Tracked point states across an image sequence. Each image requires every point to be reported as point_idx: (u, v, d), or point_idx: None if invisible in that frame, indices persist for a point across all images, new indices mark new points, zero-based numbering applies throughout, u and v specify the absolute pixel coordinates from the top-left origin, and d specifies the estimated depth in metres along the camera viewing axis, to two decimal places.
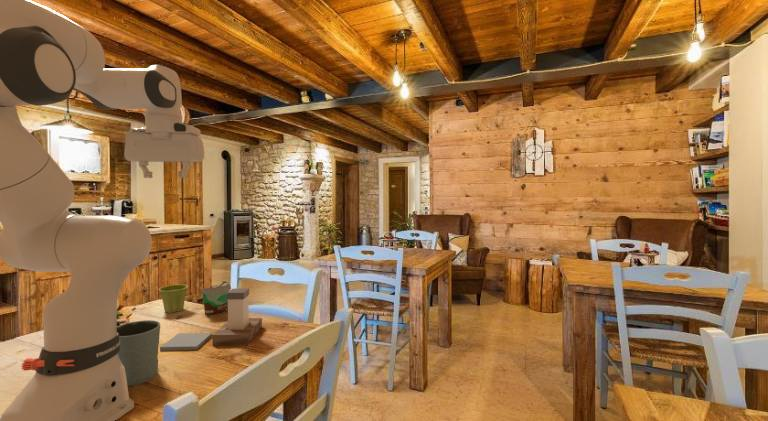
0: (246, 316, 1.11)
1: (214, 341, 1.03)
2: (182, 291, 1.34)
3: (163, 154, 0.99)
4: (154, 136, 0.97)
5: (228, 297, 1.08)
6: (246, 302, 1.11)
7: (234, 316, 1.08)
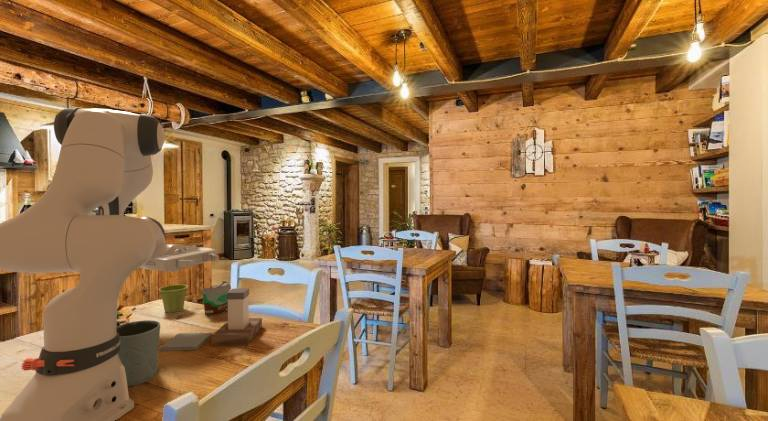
0: (246, 316, 1.11)
1: (214, 341, 1.03)
2: (182, 291, 1.34)
3: (192, 253, 1.16)
4: (175, 249, 1.16)
5: (228, 297, 1.08)
6: (246, 302, 1.11)
7: (234, 316, 1.08)
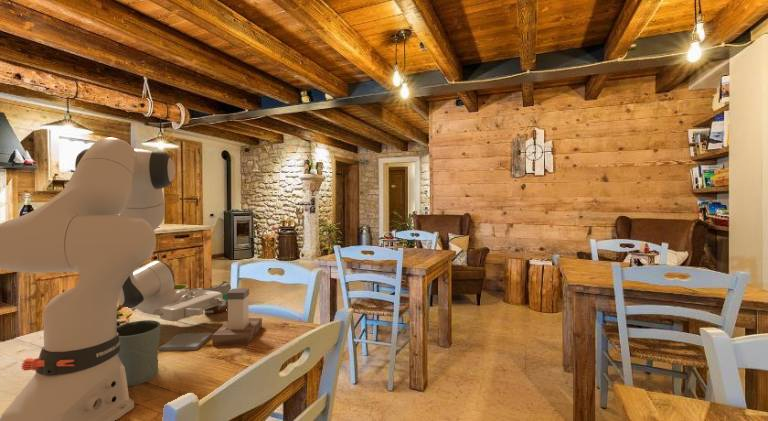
0: (246, 316, 1.11)
1: (214, 341, 1.03)
2: None
3: (199, 299, 1.15)
4: (182, 296, 1.15)
5: (228, 297, 1.08)
6: (246, 302, 1.11)
7: (234, 316, 1.08)
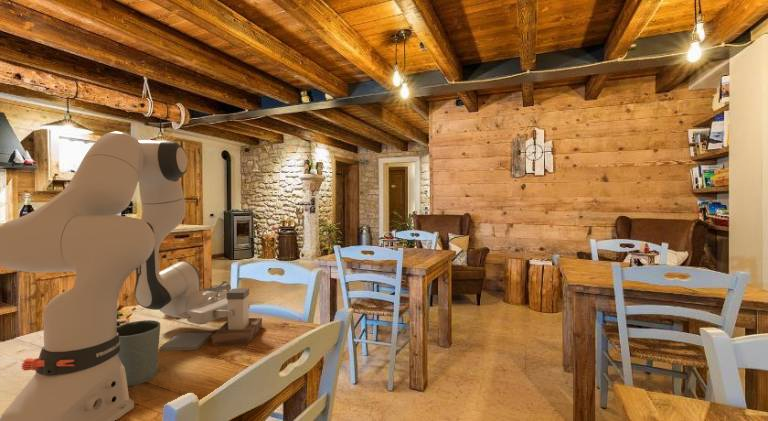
0: (246, 316, 1.11)
1: (214, 341, 1.03)
2: None
3: (225, 301, 1.13)
4: (208, 298, 1.12)
5: (228, 297, 1.08)
6: (246, 302, 1.11)
7: (234, 316, 1.08)
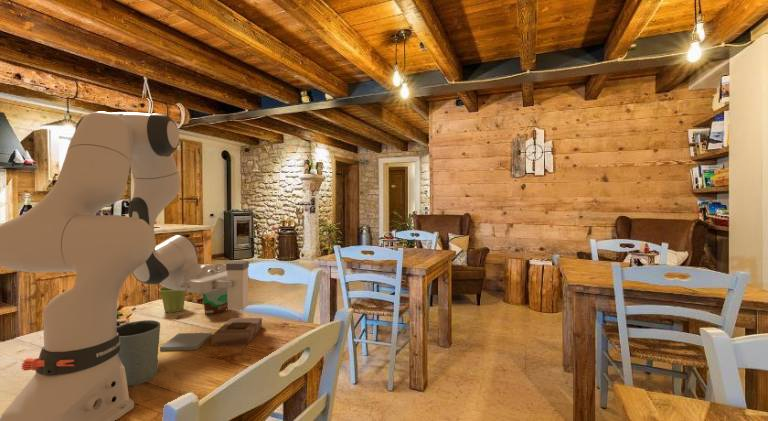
0: (246, 288, 1.10)
1: (214, 341, 1.03)
2: (182, 291, 1.34)
3: (225, 273, 1.12)
4: (208, 270, 1.12)
5: (228, 268, 1.07)
6: (246, 274, 1.10)
7: (233, 287, 1.08)
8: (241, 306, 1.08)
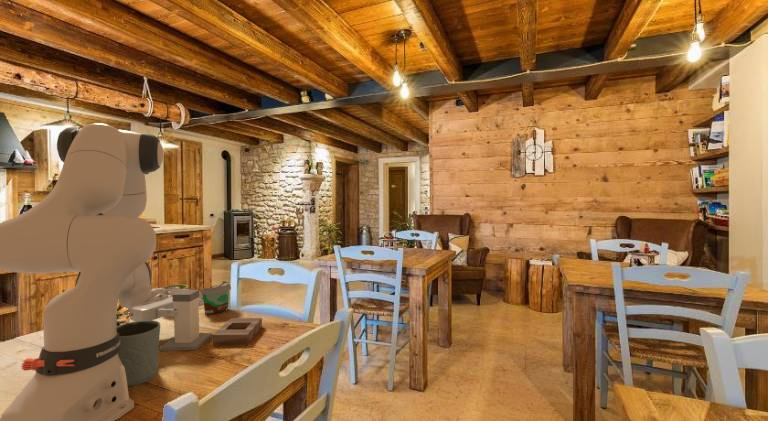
0: (195, 319, 1.05)
1: (214, 341, 1.03)
2: None
3: None
4: (156, 295, 1.07)
5: (174, 299, 1.02)
6: (195, 304, 1.05)
7: (180, 319, 1.02)
8: (188, 339, 1.03)
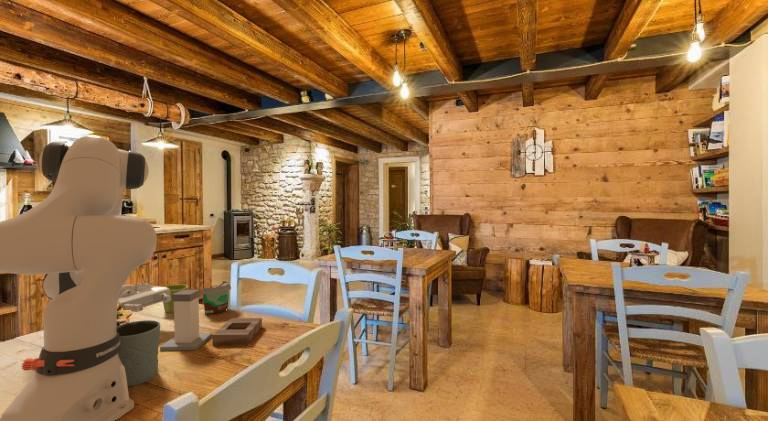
0: (195, 319, 1.05)
1: (214, 341, 1.03)
2: None
3: (141, 295, 1.11)
4: (124, 291, 1.10)
5: (174, 299, 1.02)
6: (195, 304, 1.05)
7: (180, 319, 1.02)
8: (188, 339, 1.03)
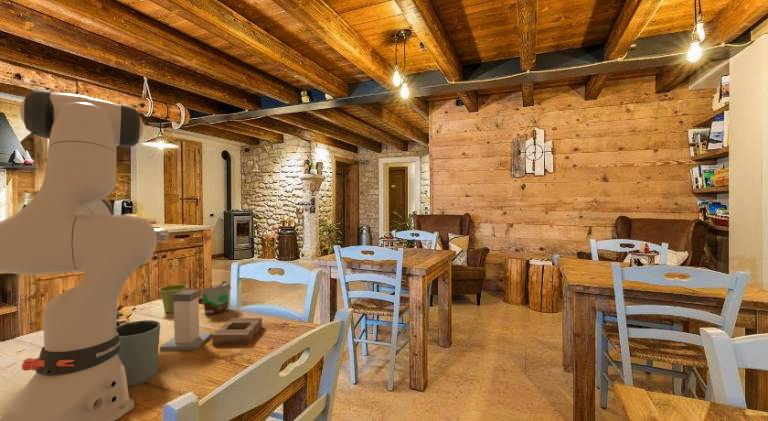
0: (195, 319, 1.05)
1: (214, 341, 1.03)
2: None
3: None
4: None
5: (174, 299, 1.02)
6: (195, 304, 1.05)
7: (180, 319, 1.02)
8: (188, 339, 1.03)
